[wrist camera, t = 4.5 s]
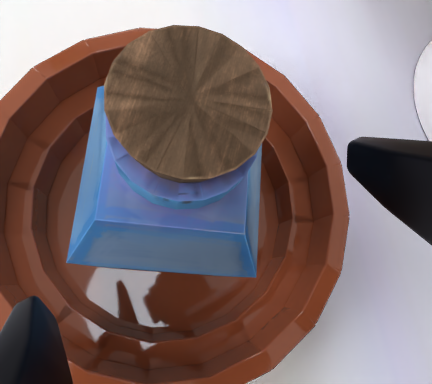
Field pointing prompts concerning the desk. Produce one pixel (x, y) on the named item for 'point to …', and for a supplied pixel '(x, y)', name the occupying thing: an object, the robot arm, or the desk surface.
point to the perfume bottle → (175, 158)
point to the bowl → (156, 280)
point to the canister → (424, 90)
